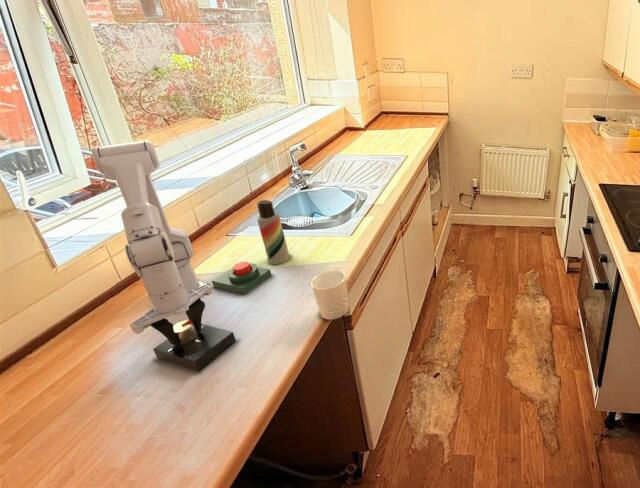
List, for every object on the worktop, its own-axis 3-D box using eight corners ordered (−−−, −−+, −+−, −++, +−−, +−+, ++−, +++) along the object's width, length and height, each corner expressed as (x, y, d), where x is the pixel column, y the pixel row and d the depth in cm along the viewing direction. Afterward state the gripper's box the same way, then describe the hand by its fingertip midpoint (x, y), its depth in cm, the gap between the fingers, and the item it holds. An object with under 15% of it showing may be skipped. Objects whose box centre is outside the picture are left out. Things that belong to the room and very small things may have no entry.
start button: (231, 274, 111) (229, 268, 110) (243, 266, 114) (241, 260, 113) (242, 277, 110) (240, 270, 109) (254, 268, 113) (252, 262, 112)
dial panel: (157, 359, 88) (152, 348, 87) (196, 330, 96) (192, 320, 95) (199, 372, 85) (194, 361, 84) (236, 341, 93) (232, 331, 92)
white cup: (341, 297, 108) (335, 266, 104) (357, 309, 104) (351, 278, 99) (312, 312, 102) (305, 280, 98) (328, 326, 98) (320, 293, 94)
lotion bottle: (264, 261, 123) (248, 203, 115) (282, 252, 127) (267, 195, 119) (276, 266, 120) (260, 207, 112) (293, 257, 125) (279, 199, 117)
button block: (213, 287, 111) (209, 275, 109) (241, 269, 119) (238, 258, 117) (245, 294, 108) (241, 282, 107) (271, 275, 116) (268, 264, 115)
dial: (182, 347, 87) (176, 334, 86) (172, 341, 89) (166, 328, 87) (201, 335, 91) (196, 322, 89) (191, 329, 92) (186, 316, 91)
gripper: (134, 314, 76) (159, 366, 82) (213, 274, 89) (230, 321, 94) (115, 303, 79) (140, 354, 85) (194, 266, 91) (211, 312, 97)
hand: (186, 336), depth 90 cm, fingers closed on dial, 4 cm apart
